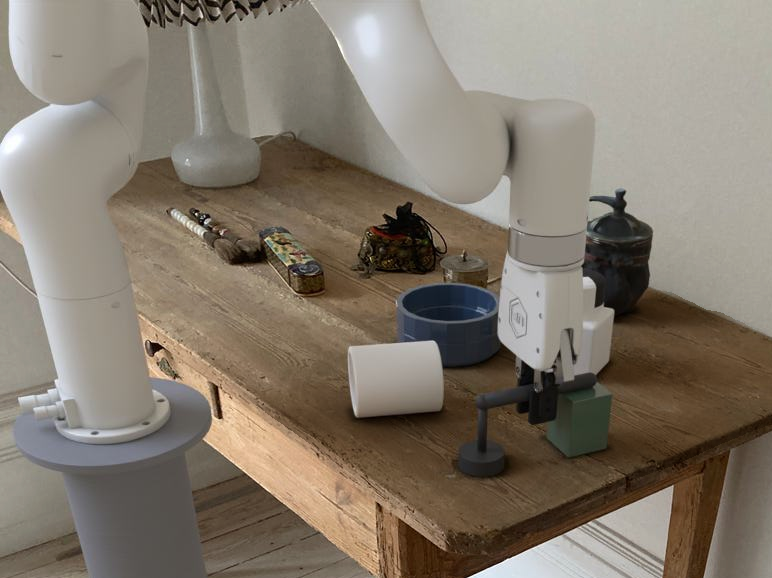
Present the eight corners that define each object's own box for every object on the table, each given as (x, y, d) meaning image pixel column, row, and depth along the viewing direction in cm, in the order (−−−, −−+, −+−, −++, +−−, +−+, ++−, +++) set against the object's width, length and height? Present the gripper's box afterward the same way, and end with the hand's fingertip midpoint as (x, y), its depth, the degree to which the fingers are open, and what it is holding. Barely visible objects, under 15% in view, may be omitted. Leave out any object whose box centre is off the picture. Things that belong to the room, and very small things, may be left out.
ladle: (470, 481, 109) (472, 409, 104) (450, 459, 113) (451, 389, 108) (601, 450, 115) (608, 381, 110) (578, 430, 119) (584, 362, 113)
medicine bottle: (558, 350, 135) (565, 259, 128) (609, 362, 133) (619, 269, 125) (537, 371, 130) (543, 277, 123) (589, 383, 128) (598, 288, 120)
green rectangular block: (568, 457, 114) (573, 402, 109) (546, 437, 117) (550, 383, 113) (606, 448, 115) (612, 393, 111) (583, 429, 119) (588, 375, 115)
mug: (444, 423, 119) (444, 357, 114) (358, 430, 117) (354, 364, 112) (425, 378, 128) (424, 316, 123) (345, 384, 126) (341, 321, 121)
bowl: (423, 376, 129) (422, 330, 125) (381, 335, 138) (380, 291, 134) (518, 357, 133) (521, 312, 130) (472, 319, 143) (473, 276, 139)
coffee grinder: (530, 303, 148) (537, 170, 136) (620, 290, 152) (635, 161, 141) (569, 337, 139) (581, 198, 127) (664, 323, 143) (683, 187, 132)
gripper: (475, 224, 104) (472, 392, 116) (553, 276, 93) (541, 456, 105) (540, 215, 106) (531, 380, 118) (623, 265, 96) (604, 442, 107)
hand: (535, 415), depth 111 cm, fingers closed
